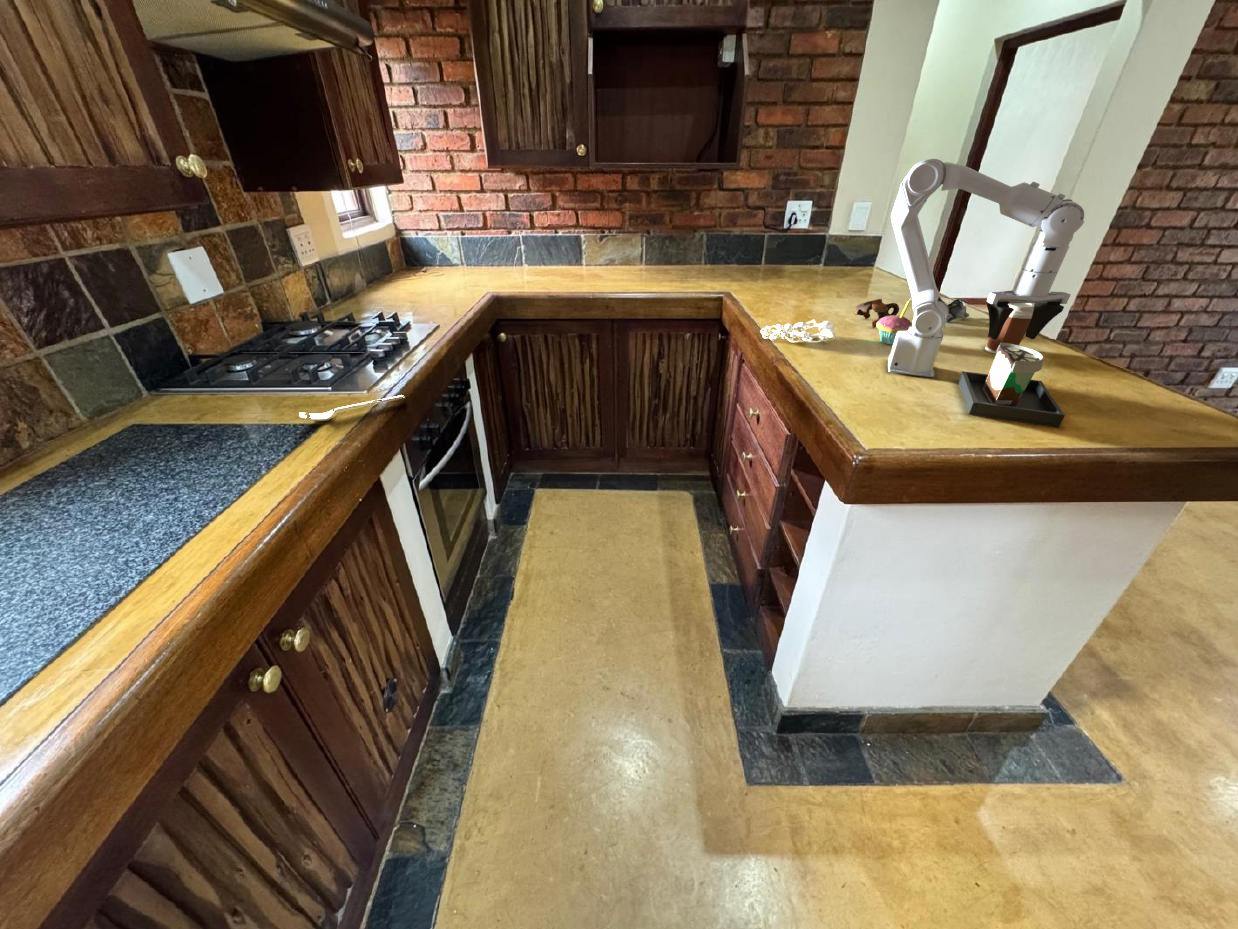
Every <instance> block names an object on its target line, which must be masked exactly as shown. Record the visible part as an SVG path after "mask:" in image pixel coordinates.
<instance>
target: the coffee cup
mask: <svg viewBox="0 0 1238 929" xmlns="http://www.w3.org/2000/svg"><path fill="white" fill-rule="evenodd" d="M1008 305H1010V306H1009V307H1011V308H1013V309H1014V310H1013V312H1012V313H1011V314H1010V316H1009V317H1008V318H1007V320H1006V322H1005V323H1004V325H1003V328H1002V330H1001V332H1000V335H999V336H998V338H997V339H992V338H990V337H987V338H988V339H987V342H986V345H985V347H984V348H985V350H986V351H987V352H989V353H993V354H996V353H997V352H996V351H997V349H998V347H999V345H1000V343H1009V344H1015V345H1019V346H1020V344H1021V342H1022V341H1023V339H1024V338H1025V334H1026V331H1027V328H1028V326H1029V324H1030V321H1031V318H1032V314H1033V310H1034V303H1009V304H1008Z"/></svg>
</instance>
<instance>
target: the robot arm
mask: <svg viewBox="0 0 1238 929" xmlns="http://www.w3.org/2000/svg"><path fill="white" fill-rule="evenodd" d="M1040 185H1041V184H1040V183H1039V182H1036V181H1032V182H1031V183H1028V182H1021V183H1018V184H1016V185H1013V186H1010V185H1009V184H1007V183H1004V182H1002V181H1000V180H998V179H996V178H994V177H990V176H989V175H986V174H984V173H982V172H979V171H977V170H976V169H973V168H971V167H969V166H966V165H963V164H958V163H954V162H948V161H946V162H943V161H942V160H941V159H938V158H928V159H924V160H921V161H919V162H917V163H916V164H915V165H913V166H912V168H910V169H909V171H908V173H907V174H906V176H905V177H904V178H903V180H902V181H901V183H900V186H899V190H898V194H897V196H896V199H895V201H894V205H893V208H892V211H891V214H890V221H891V225H892V228H893V233H894V237H895V240H896V243H897V246H898V251H899V254H900V258H901V262H902V265H903V269H904V273H905V276H906V280H907V283H908V288H909V290H910V295H911V304H912V305H911V306H912V311H913V319H912V321H911V323H912V327H909V329H908V331H898V332H897V334H896V337H895V340H894V344H893V345H892V346H891V351H890V353H889V355H888V357H887V358H888V359H887V371H888V373H896V374H903V375H910V376H919V377H925V378H935V372H934V364H935V361H936V358H937V356H938V353H939V350H940V348H941V344H942V342H943V339H944V335H945V331H944V330H943V329H944V328H945V326H946V324H947V322H946V318H947V317H948V314H949V308H948V304H947V303H946V301H944V299H942V297H941V294H940V291H939V288H938V287H937V285H936V281H935V276H934V273H933V269H932V265H931V261H930V257H929V254H928V250H927V245H926V241H925V238H924V234H923V230H922V226H921V222H920V218H919V214H920V212H921V210H922V209H923V208H924V205H925V204H926V203H927V201H928V199H929V198H930V197H931V196H932V195H933V194H934V193H935V192H936V191H937V190H938V189H939V188H940V187H941V189H940V191H941V192H943V191H950V190H962V191H964V192H968V193H970V194H973V195H975V196H978V197H980V198H983V199H986V200H988V201H991V202H993V203H996V204H998V205H999V213H1000V215H1002V216H1005V217H1008V218H1009V219H1012V220H1015V221H1017V222H1019V223H1021V224H1024V225H1026V226H1028V227H1030V228H1035V227H1039V228H1040V229H1039V230H1038V233H1037V235H1036V238H1035V240H1034V242H1033V243H1032V244H1031V245H1030V248H1029V251H1028V254H1027V256H1026V258H1025V261H1024V263H1023V266H1022V267H1021V271H1020V272H1019V275H1018V278H1017V279H1016V282H1015V285H1014V287H1013V289H1011V290H1003V291H1002V290H1001V291H990V292H989V294H988V297H987V299H986V302H987V303H986V307H987V311H988V319H989V321H988V333H987V338H989V337H990V338H992V339H997V338H998V336H999V335H1000V332H1001V330H1002V328H1003V325H1004V323H1005V322H1006V320H1007V318H1008V317H1009V316H1010V314H1011V313H1012V312H1013V310H1014V309H1013V308H1011V307H1009V306H1010V305H1008V304H1009V303H1034V310H1033V314H1032V318H1031V321H1030V324H1029V326H1028V328H1027V331H1026V333H1025V335H1024V338H1027V339H1030V340H1035V339H1036V338H1037V337H1038V335H1039V334H1041V331H1042V330H1044V328H1045V327H1046V326H1047V325H1049V323H1050V322H1051V321H1052V320H1053V319H1054V318H1056V317H1057V316H1058V315H1060V314H1061V313H1062V312H1063V311H1064V309H1065V306H1064V305H1066V304H1067V303H1068V301H1069V299H1070V297H1071V296H1072V294H1071V293H1068V292H1066V291H1051V289H1052V286H1053V284H1054V281H1055V280H1056V277H1057V275H1058V273H1059V271H1060V268H1061V266H1062V264H1063V262H1064V260H1065V257H1066V255H1067V254H1068V251H1069V249H1070V244H1071V242H1072V241H1073V238H1074V234H1075V233H1076V232H1078V231H1079V230H1080V228H1082V226H1083V225H1084V224H1085V221H1084V220H1085V210H1084V208H1083V207H1082V206H1081V205H1080V204H1078V203H1077V202H1075V201H1073V199H1070V198H1069V199H1068V198H1066V195H1065V194H1063V193H1059V194H1058V195H1057V194H1055V193H1052V192H1050V191H1048V190H1045V189H1043V188H1040Z"/></svg>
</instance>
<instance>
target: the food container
mask: <svg viewBox="0 0 1238 929" xmlns="http://www.w3.org/2000/svg"><path fill="white" fill-rule="evenodd" d="M996 352H997V353H995V356H994V358H993V362H992V364H991V367H990V369H989V372H988V373H987V374H988V377H987V380H986V382H985V385H984V388H983V390H984V392H985V394H986V395H987V397H988V399H989V401H990V403H991V404H997V405H1004V406H1012V407H1013V406H1015V405H1016V404H1017V403H1018V401H1019V399H1020V397H1021V396H1022V394H1023V392H1024V391H1025V389H1026V387H1027V385H1028V384H1029V382H1030V380H1032V378H1033V377H1034V375H1035V373H1037V372H1039V371H1041V370H1042V369H1043V364H1044V356H1043V354H1042V353H1041V352H1039V351H1037V350H1035V349H1034V348H1030V347H1026V346H1023V345H1020V344H1019V345H1015V344H1009V343H1000V345H999V347H998V349H997V351H996Z"/></svg>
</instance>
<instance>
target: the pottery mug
mask: <svg viewBox="0 0 1238 929" xmlns="http://www.w3.org/2000/svg"><path fill="white" fill-rule="evenodd" d="M854 307H855V311H854V315H855V316H862V318H864V320H867V319H869V318H871V314H870V313H871V311H873V312H874V313H876V314H877V318H875V319H873V320H872V319H871V321H870V323H871V328H872V329H875V328H877V327H876V324H877V322H878V320H880V319H881V318H883V317H885V316H891V315H892V316H893V315H895V316H896V315H899V312H900V306H899V304H898V303H897V302H891V303H884V302H883V299H882V298H877V299H871V300H868V301H865V302H862V303H859V304H857V305H856V306H854ZM891 309H893V310H892V312H891V313H889V311H890V310H891Z"/></svg>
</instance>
